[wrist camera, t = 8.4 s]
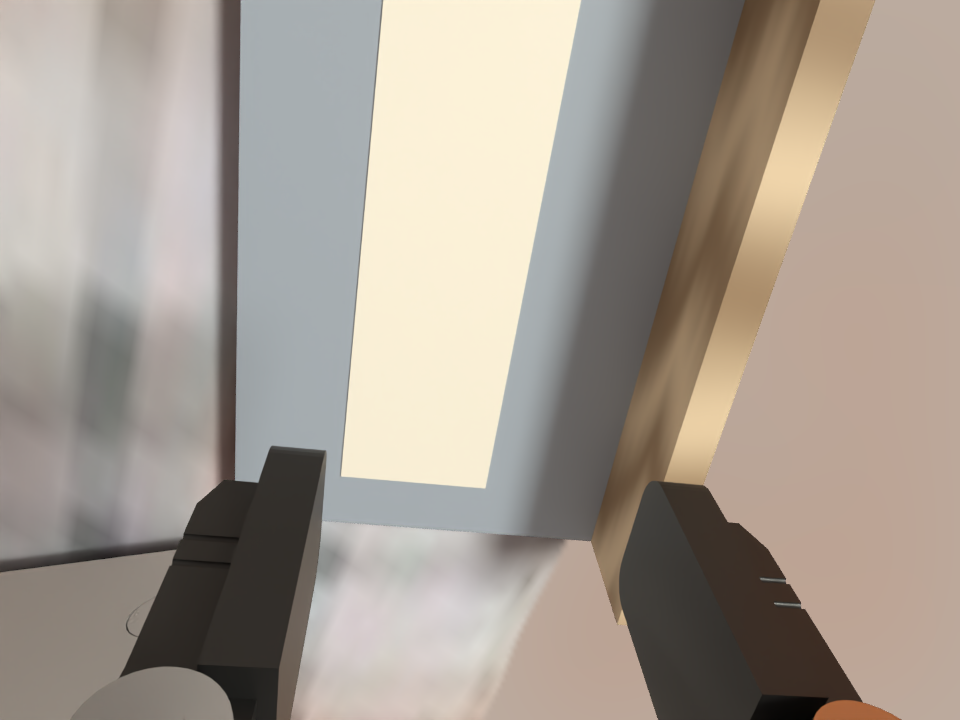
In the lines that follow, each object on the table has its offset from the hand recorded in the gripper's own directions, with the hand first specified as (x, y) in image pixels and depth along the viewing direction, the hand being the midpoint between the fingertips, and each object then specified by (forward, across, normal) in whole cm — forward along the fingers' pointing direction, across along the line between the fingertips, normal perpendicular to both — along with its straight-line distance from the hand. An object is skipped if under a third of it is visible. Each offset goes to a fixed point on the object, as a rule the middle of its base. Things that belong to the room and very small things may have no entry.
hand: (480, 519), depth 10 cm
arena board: (+14, -1, -1) cm, 14 cm away
